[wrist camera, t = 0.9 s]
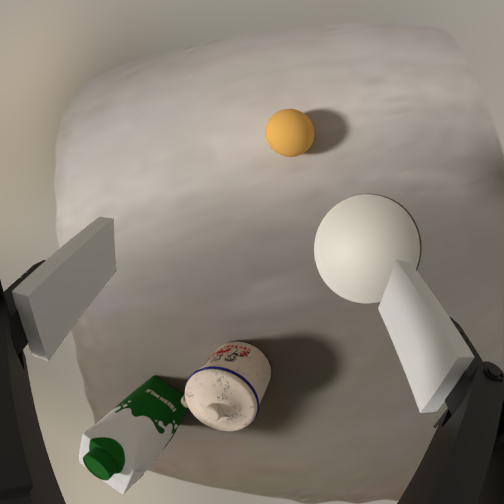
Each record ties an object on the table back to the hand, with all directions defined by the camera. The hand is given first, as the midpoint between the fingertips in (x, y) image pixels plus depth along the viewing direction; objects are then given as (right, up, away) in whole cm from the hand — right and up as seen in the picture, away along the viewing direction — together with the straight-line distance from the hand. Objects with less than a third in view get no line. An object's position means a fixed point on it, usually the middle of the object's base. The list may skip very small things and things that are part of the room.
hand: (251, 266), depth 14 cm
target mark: (+14, +1, +22) cm, 26 cm away
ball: (+4, +14, +20) cm, 25 cm away
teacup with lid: (-3, -16, +29) cm, 33 cm away
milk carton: (-14, -24, +33) cm, 43 cm away
